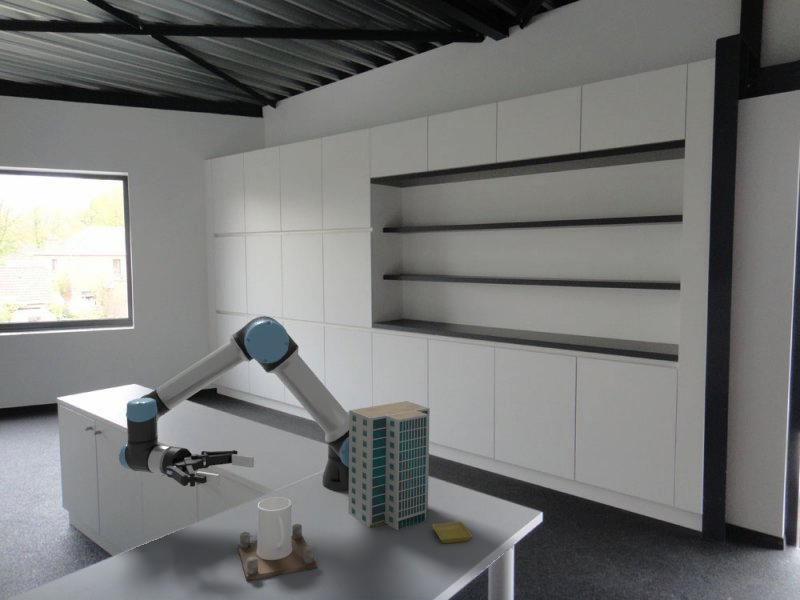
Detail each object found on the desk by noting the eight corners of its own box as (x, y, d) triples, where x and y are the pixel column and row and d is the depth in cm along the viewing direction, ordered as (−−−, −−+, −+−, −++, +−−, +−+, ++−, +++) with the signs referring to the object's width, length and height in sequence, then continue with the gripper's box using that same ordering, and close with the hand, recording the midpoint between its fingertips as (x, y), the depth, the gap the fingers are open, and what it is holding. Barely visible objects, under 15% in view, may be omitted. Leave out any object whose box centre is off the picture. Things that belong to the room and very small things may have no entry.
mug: (298, 563, 134) (298, 513, 133) (261, 570, 131) (261, 519, 130) (288, 540, 145) (289, 494, 144) (254, 546, 142) (254, 499, 141)
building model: (381, 535, 151) (382, 422, 149) (348, 513, 164) (349, 410, 162) (440, 516, 163) (441, 412, 161) (405, 497, 176) (406, 400, 175)
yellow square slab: (472, 543, 148) (472, 535, 148) (440, 547, 146) (440, 538, 146) (461, 528, 156) (461, 521, 156) (431, 531, 154) (431, 524, 154)
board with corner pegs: (301, 537, 149) (301, 522, 149) (316, 567, 134) (316, 551, 134) (237, 548, 143) (237, 532, 143) (246, 581, 128) (246, 563, 128)
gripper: (203, 459, 164) (266, 469, 157) (134, 492, 141) (202, 504, 133) (203, 434, 164) (265, 442, 156) (133, 462, 141) (201, 473, 133)
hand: (236, 471), depth 145 cm, fingers open, 13 cm apart
